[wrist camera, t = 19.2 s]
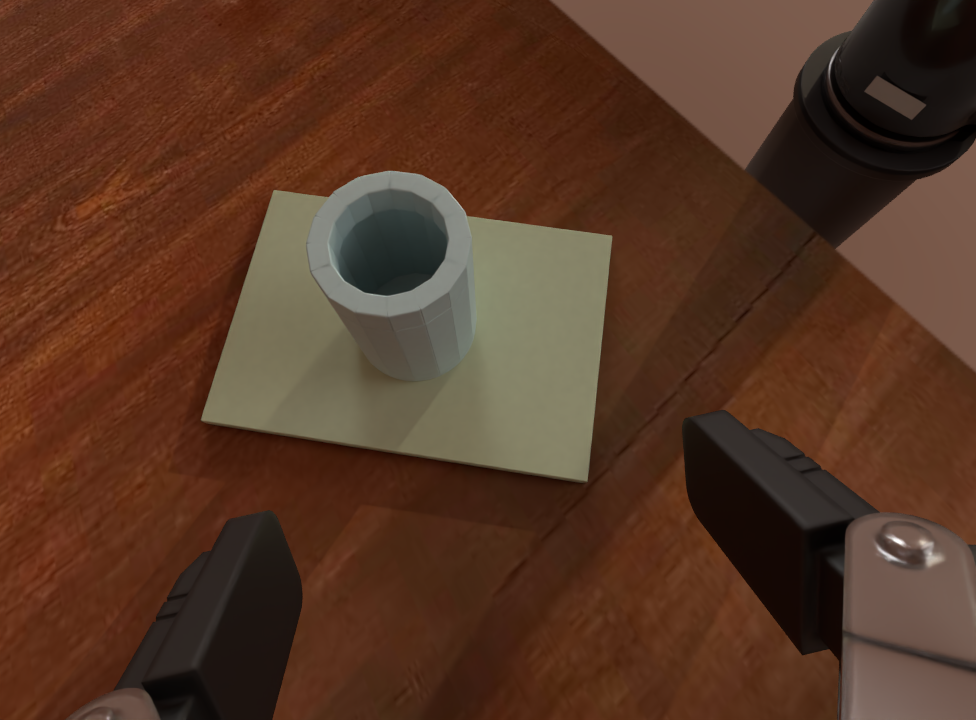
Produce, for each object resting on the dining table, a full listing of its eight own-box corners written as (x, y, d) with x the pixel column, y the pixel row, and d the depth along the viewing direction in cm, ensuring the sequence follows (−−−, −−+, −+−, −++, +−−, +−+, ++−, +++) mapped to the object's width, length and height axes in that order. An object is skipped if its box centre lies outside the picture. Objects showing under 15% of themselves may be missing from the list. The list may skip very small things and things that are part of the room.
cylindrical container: (484, 280, 32) (482, 182, 23) (465, 390, 30) (454, 327, 21) (372, 264, 32) (328, 161, 23) (345, 371, 30) (287, 303, 21)
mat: (609, 242, 33) (612, 235, 32) (585, 483, 29) (587, 481, 28) (278, 197, 34) (273, 189, 33) (207, 423, 30) (199, 420, 29)
